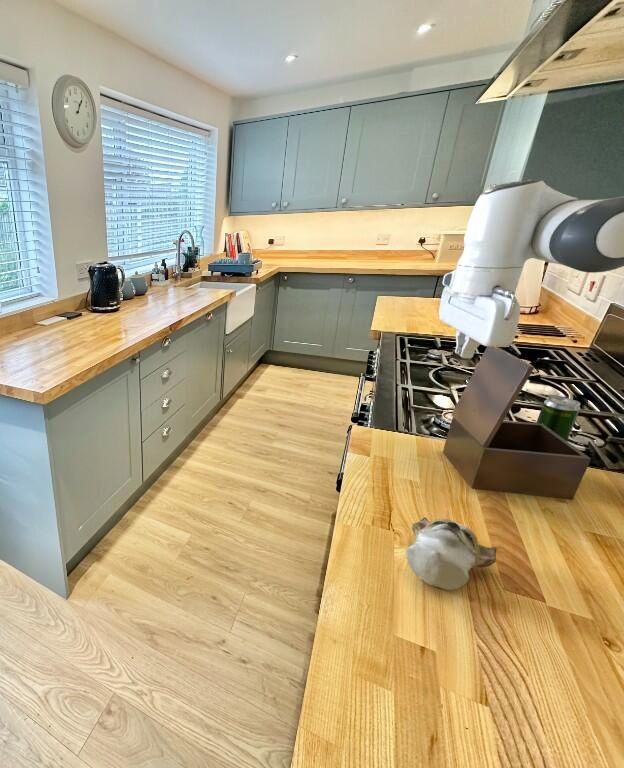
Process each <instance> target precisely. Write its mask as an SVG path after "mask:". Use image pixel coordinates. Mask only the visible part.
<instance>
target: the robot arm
mask: <svg viewBox="0 0 624 768" xmlns="http://www.w3.org/2000/svg"><path fill="white" fill-rule="evenodd" d="M530 259H535V260H539V261H543V262H547V263H550V264H556V265H562V266H564V267H567V268H570V269H572V270H575V271H578V272H582V273H589V274H590V273H591V274H593V273H594V274H595V273H604V272H610V271H614V270H617V269H620V268H623V267H624V195H623V196H617V197H611V198H604V199H579V198H578V197H575V196H571V195H568V194H565V193H562V192H560V191H558V190H556V189H554V188H552V187H551V186H549V185H547V183H546V182H545V181H544V180H543V179H538V178H530V179H523V180H517V181H512V182H507V183H502V184H498V185H497V184H496V185H495V186H492V187H489V188H488V189H486V190H485V191H483V192H481V194H480V195H479V197H478V199H477V200H476V202H475V204H474V207H473V208H472V211H471V214H470V217H469V219H468V223H467V226H466V229H465V233H464V236H463V251H462V254H461V256H460V258H459V259H458V261H457V264H456V268H455V269H454V270H452V271H449V272H447V273H445V274H444V275H443V278H442V284H441V285H443V286H445V287H444V288H443V289H442V292H441V296H440V301H439V307H438V318H439V321H441V322H442V323H444V324H446V325H448V326H449V327H451V328H453V329H454V330H456V332H455V342H456V343H455V344H456V346H455V349H454V353H455V354H456V355H458V356H459V357H461V358H462V359H472V358H473V357H474V355H475V351H476V350H477V349H478V348H479V346H480V345H482V346H484V347H487V346H489V347H499V348H508V347H510V345H512V343H513V342H514V340H515V337H516V335H517V331H518V325H519V321H520V316H521V304H520V303H519V301H518V299H517V298H516V292H517V288H518V286H519V282H520V279H521V276H522V272H523V269H524V267H525V263H526V262H527V261H528V260H530Z"/></svg>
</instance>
